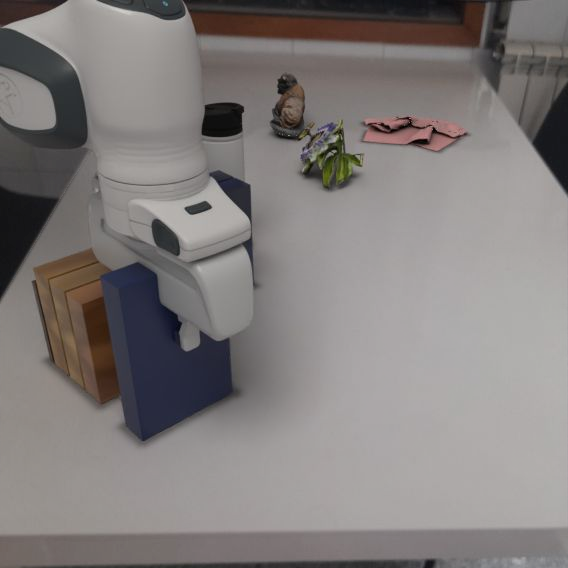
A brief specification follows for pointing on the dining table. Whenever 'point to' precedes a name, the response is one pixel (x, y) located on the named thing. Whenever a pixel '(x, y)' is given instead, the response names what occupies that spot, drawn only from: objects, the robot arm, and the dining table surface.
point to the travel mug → (224, 138)
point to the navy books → (237, 201)
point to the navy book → (158, 355)
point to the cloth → (413, 132)
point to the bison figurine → (289, 107)
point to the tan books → (77, 322)
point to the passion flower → (326, 143)
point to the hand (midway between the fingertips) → (172, 335)
